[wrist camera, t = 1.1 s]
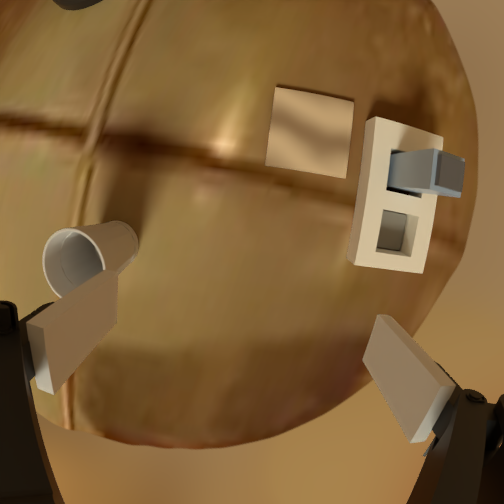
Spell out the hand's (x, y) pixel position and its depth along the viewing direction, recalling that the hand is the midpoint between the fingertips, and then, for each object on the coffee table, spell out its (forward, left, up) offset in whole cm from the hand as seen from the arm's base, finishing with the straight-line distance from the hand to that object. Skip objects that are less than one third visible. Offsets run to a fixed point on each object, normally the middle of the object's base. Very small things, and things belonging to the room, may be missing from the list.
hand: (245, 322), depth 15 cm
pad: (-14, +6, -25) cm, 29 cm away
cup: (+3, -17, -25) cm, 31 cm away
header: (-8, +18, -25) cm, 32 cm away
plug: (-11, +18, -25) cm, 32 cm away
